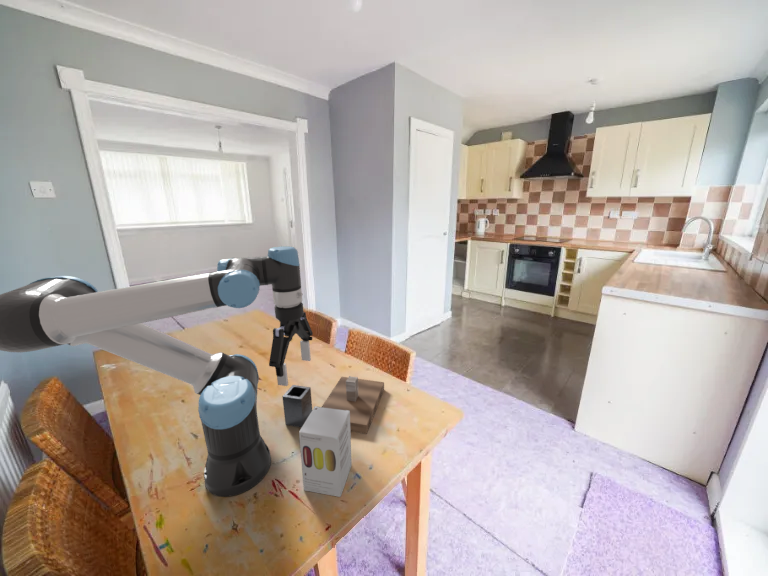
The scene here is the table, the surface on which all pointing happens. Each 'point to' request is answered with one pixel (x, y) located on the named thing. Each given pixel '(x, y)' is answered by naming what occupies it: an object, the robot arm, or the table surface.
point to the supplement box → (326, 450)
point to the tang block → (356, 400)
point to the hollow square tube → (297, 405)
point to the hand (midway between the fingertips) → (295, 371)
